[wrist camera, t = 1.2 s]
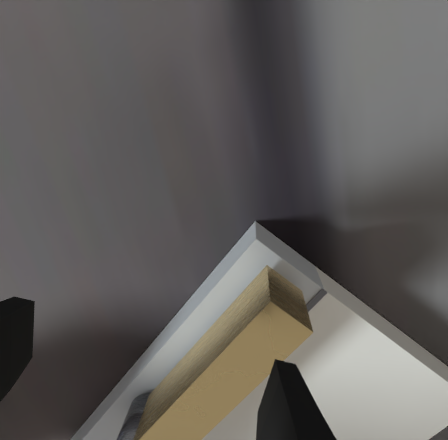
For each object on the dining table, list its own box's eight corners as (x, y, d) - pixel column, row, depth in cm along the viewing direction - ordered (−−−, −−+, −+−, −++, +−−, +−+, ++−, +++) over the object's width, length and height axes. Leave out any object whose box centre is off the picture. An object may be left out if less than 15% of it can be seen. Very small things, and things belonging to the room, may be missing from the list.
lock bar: (161, 442, 19) (144, 505, 16) (119, 415, 19) (93, 475, 16) (308, 293, 16) (321, 338, 13) (259, 257, 15) (261, 295, 12)
